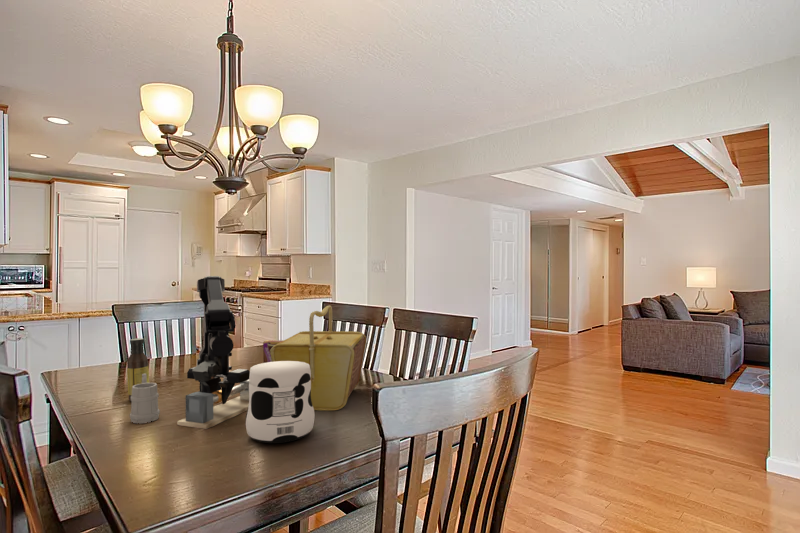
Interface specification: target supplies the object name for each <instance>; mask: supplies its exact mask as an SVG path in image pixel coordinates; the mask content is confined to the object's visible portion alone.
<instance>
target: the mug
mask: <svg viewBox="0 0 800 533" xmlns="http://www.w3.org/2000/svg"><path fill="white" fill-rule="evenodd" d="M130 402H131V406H130V407H131V410H130V413H129V418H130V422H131V423H132V422H133V424H138V423H139V424H147V422H148V423H152V422H154V421H157V420H158V419H159V415H160V414H161V413H160V412H161V410H160V409H159V392H158V384H157V383H156V382H149V383H147V375H146V374H142V384H137V385H134V386H132V396H131V401H130ZM151 421H152V422H151Z"/></svg>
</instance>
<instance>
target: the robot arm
mask: <svg viewBox="0 0 800 533" xmlns="http://www.w3.org/2000/svg"><path fill="white" fill-rule="evenodd" d="M225 286H226V284H225V279H224V278H222V276H220V275H206V276H204V277H203V278H200V279H197V281H196V292H197V293H198V297H199V299H200V300H201V301H202V304H203V346H202V348H201V349H200V351H199V352H198V359H196V366H193V367H191V368H189V369H188V370H187V372H186V377H187V378H186V379H188V380H189V379H190V380H194V381H196V382H197V381H198V383H199V390H198V391H197V392H202V393H213V392H216V391H218V390H222V402H221V403H222V404H225V403H226V402H227V401H228V399H229V398H230V397H229V395H230V393H231V390H232V389H233V387H234V386H236V384H240V383H241V382H243V381H246V380H249V376H250V369H246V368H245V369H244V368H238V369H234V370H233V366H232V365H230V357H232V356H233V353H232V352H233V349H234V340H232V338H231V337H230V334H229V333H231V332H233V333H234V332H235V329H236V326H237V325H236V318H235V315H234V312H233V310H231V309H230V305H229V304H228V303H226V302H225V301H224V297H223V296H224V295H223V292H224V291H225V290H226V287H225ZM222 378H223V379H222Z"/></svg>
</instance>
